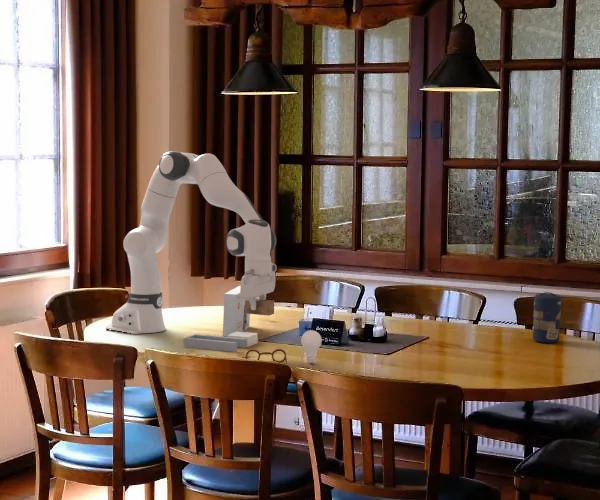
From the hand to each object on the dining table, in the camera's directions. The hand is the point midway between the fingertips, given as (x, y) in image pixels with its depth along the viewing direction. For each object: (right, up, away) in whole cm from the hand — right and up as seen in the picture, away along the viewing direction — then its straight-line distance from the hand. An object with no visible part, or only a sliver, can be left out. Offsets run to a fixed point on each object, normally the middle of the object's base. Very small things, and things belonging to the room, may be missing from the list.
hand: (257, 308), depth 349 cm
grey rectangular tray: (-15, -14, +8) cm, 22 cm away
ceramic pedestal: (-6, -13, +13) cm, 20 cm away
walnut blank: (+1, -2, 0) cm, 2 cm away
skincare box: (-9, -11, +36) cm, 39 cm away
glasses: (+4, -18, -22) cm, 29 cm away
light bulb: (+18, -17, -17) cm, 30 cm away
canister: (+103, -13, +21) cm, 106 cm away
